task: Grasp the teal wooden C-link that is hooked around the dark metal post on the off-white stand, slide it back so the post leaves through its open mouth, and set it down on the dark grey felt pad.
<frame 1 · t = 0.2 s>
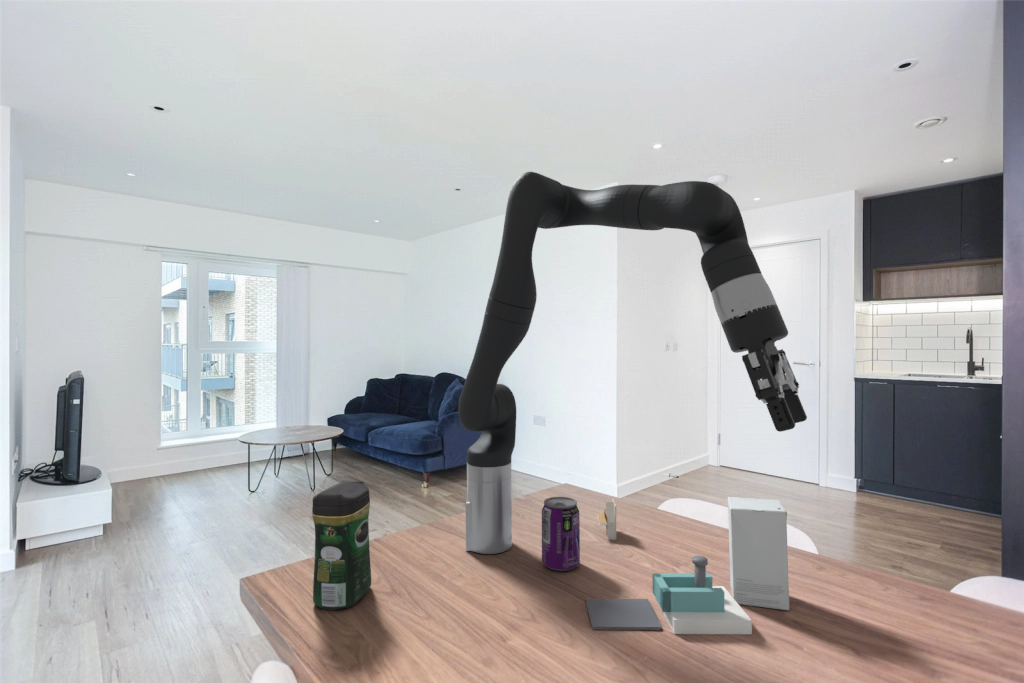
hand: (793, 425, 66), 31 cm above the table, tool tilted 20°, fingers open, 8 cm apart
coffee jar: (342, 598, 82), on the table
architectural model: (610, 537, 108), on the table
skincare box: (757, 600, 81), on the table
c link: (687, 601, 76), point 2 cm above the table, touching stand
felt pad: (621, 614, 76), on the table
stand: (700, 615, 76), on the table
beverage can: (560, 566, 93), on the table
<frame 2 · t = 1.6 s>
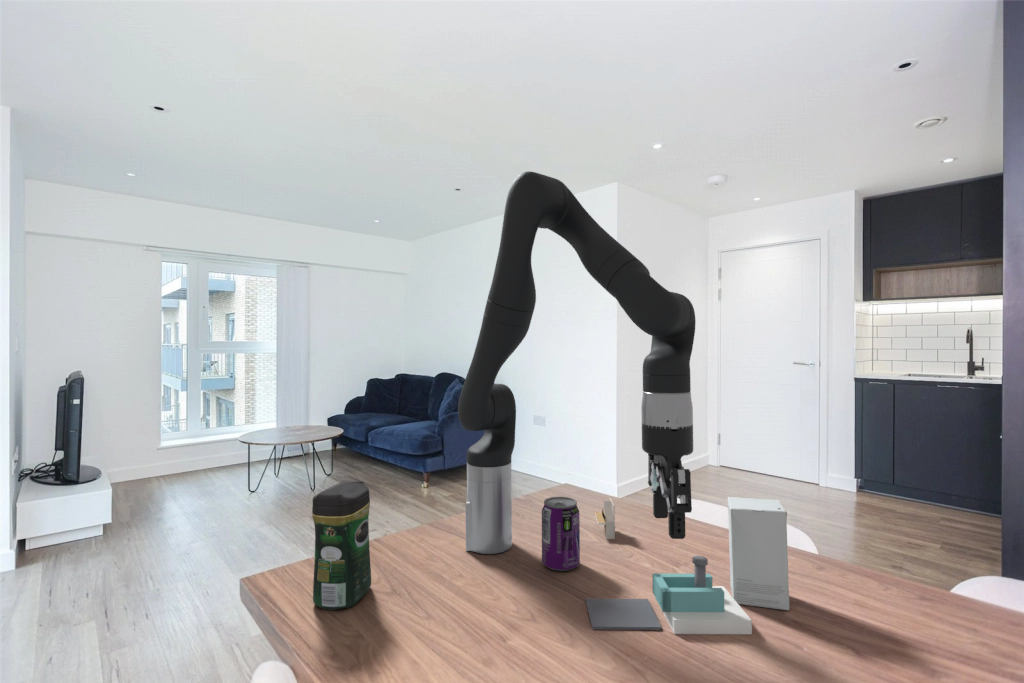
hand: (668, 527, 76), 13 cm above the table, tool pointing down, fingers open, 8 cm apart
nothing on the table moved.
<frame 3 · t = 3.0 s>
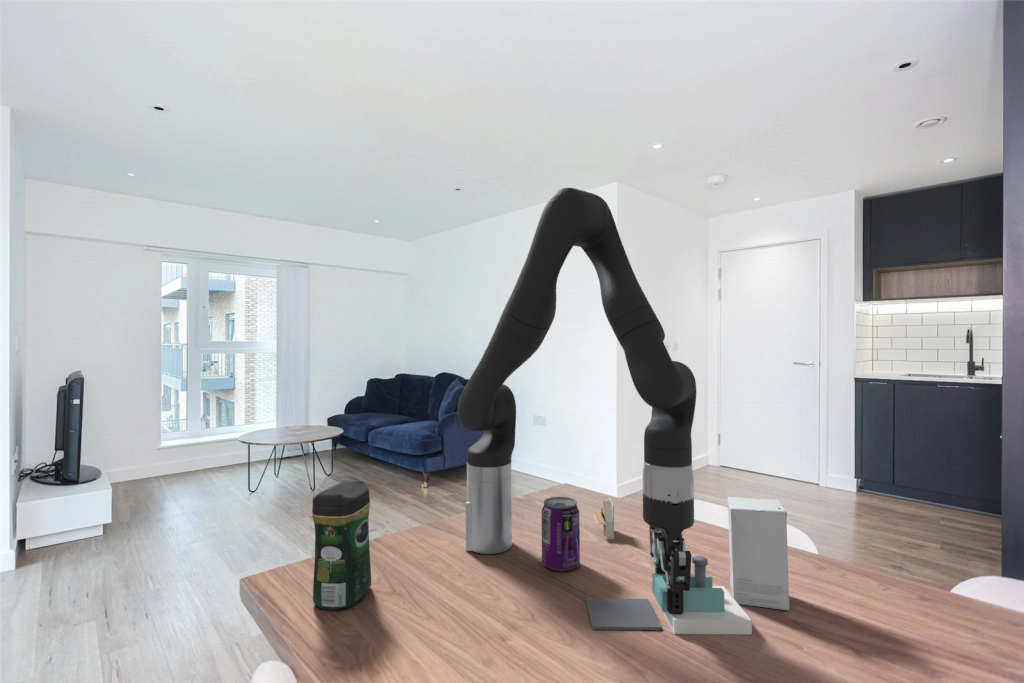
hand: (668, 601, 76), 2 cm above the table, tool pointing down, fingers closed on c link, 5 cm apart
c link: (687, 601, 76), point 2 cm above the table, touching gripper, stand
everything else where it was.
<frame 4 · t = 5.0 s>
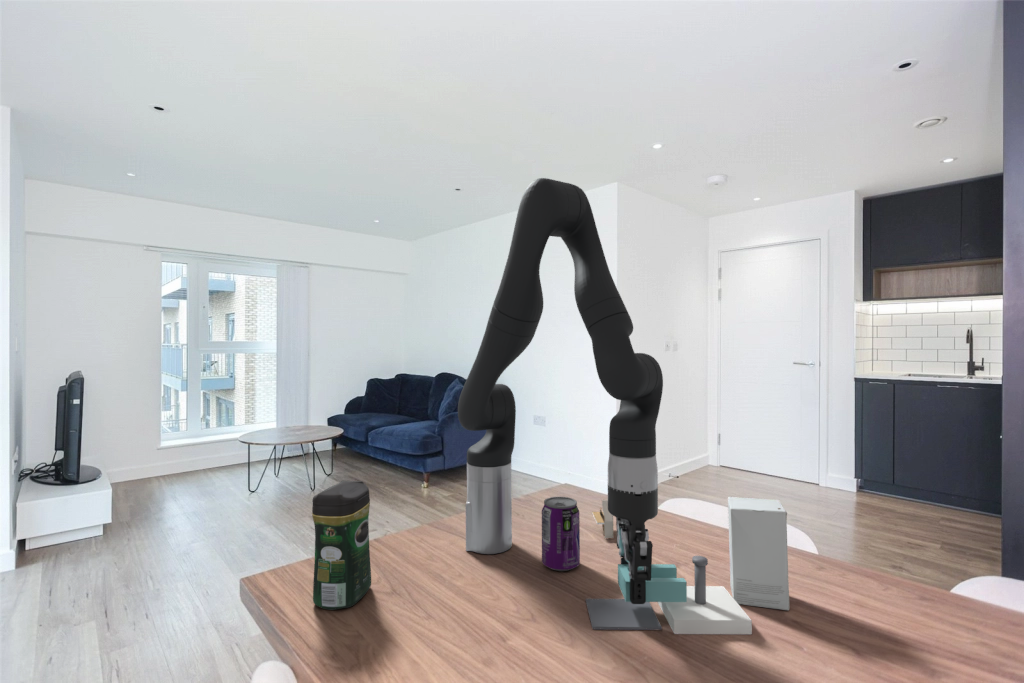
hand: (632, 591, 77), 3 cm above the table, tool pointing down, fingers closed on c link, 5 cm apart
c link: (650, 592, 77), point 3 cm above the table, touching gripper
everything else where it was.
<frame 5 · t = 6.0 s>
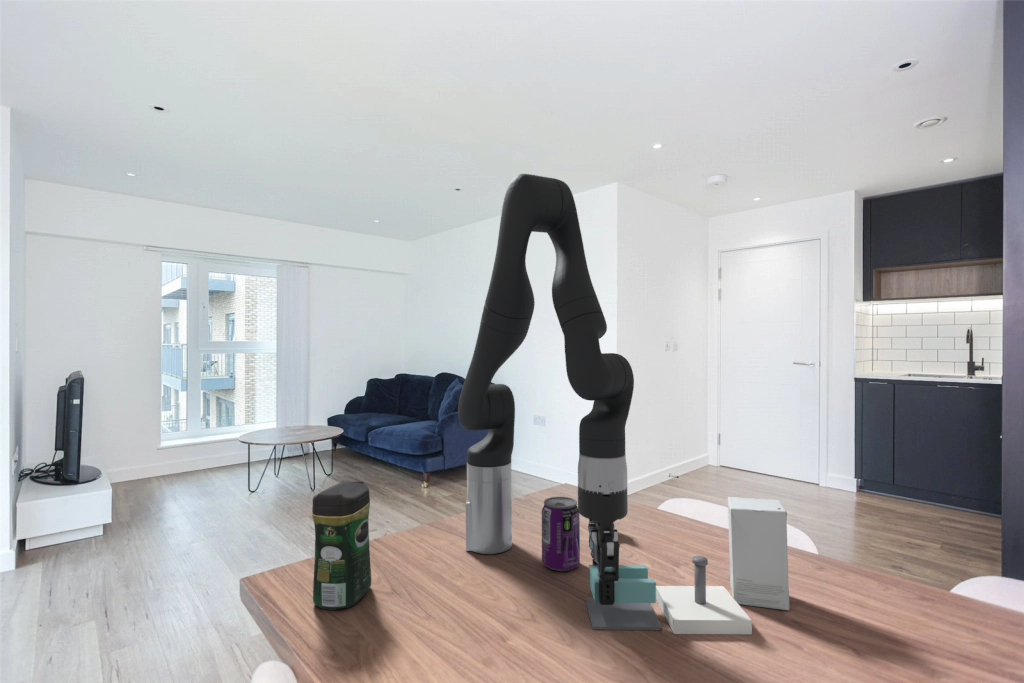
hand: (603, 592, 76), 3 cm above the table, tool pointing down, fingers closed on c link, 5 cm apart
c link: (621, 592, 76), point 3 cm above the table, touching gripper
when the fingers open (2 cm above the table, at t = 6.8 s): c link drops 1 cm, resting on felt pad.
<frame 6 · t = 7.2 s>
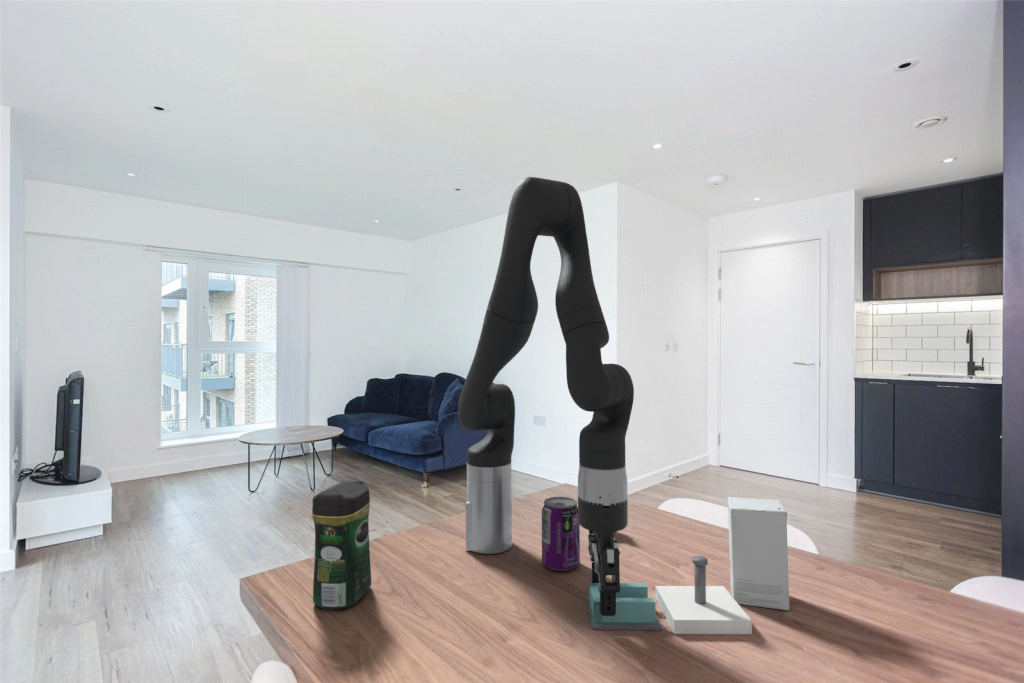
hand: (603, 599, 76), 2 cm above the table, tool pointing down, fingers open, 8 cm apart
c link: (620, 611, 76), resting on felt pad
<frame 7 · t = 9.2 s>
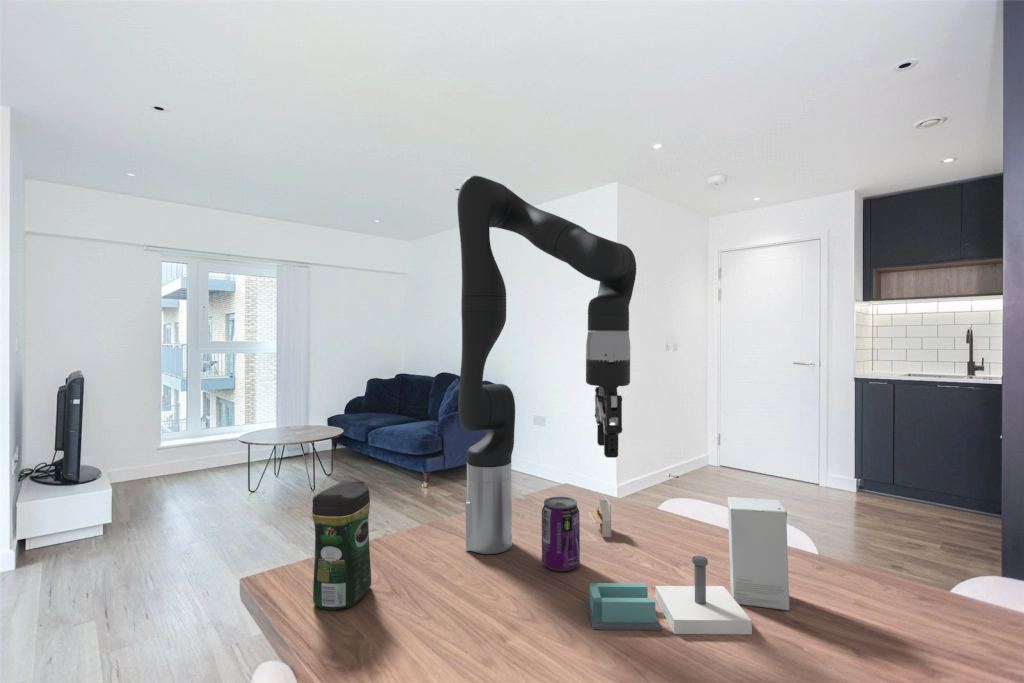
hand: (607, 450, 86), 23 cm above the table, tool pointing down, fingers open, 8 cm apart
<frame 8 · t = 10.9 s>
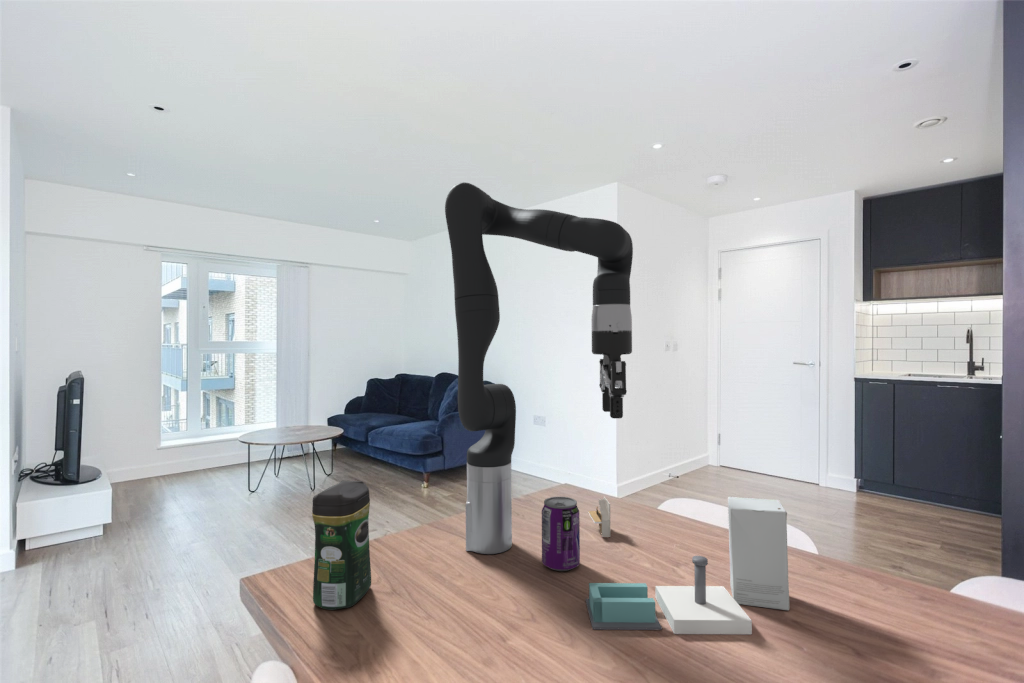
hand: (612, 414, 94), 28 cm above the table, tool pointing down, fingers open, 8 cm apart
at the end: c link inside the target area on the felt pad (0.1 cm from its centre), point 0.4 cm above the felt pad's base; the gripper is holding nothing; c link moved 10.2 cm from its start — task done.
